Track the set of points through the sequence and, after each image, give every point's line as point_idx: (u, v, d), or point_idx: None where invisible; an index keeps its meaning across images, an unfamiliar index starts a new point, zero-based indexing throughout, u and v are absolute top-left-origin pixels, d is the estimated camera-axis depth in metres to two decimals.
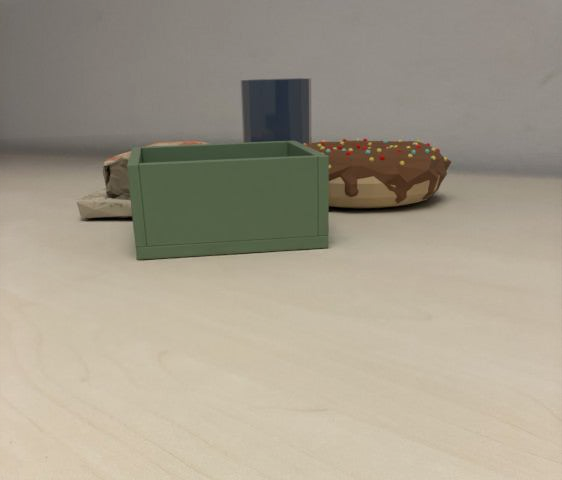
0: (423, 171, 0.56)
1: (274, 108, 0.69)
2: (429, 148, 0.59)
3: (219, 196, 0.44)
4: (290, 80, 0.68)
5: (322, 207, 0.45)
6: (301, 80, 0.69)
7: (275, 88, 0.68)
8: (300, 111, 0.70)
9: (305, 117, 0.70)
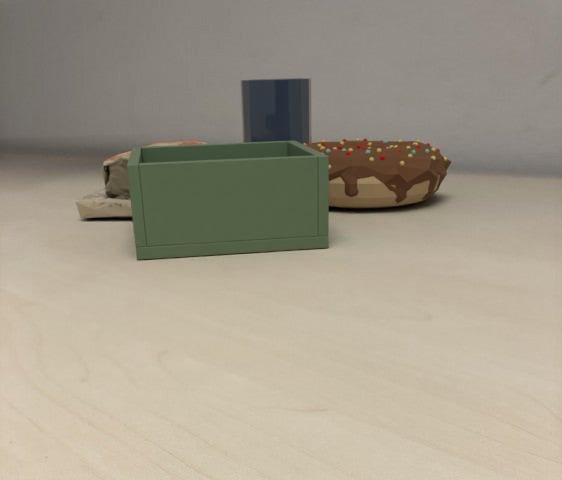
0: (423, 171, 0.56)
1: (274, 108, 0.69)
2: (429, 148, 0.59)
3: (219, 196, 0.44)
4: (290, 80, 0.68)
5: (322, 207, 0.45)
6: (301, 80, 0.69)
7: (275, 88, 0.68)
8: (300, 111, 0.70)
9: (305, 117, 0.70)
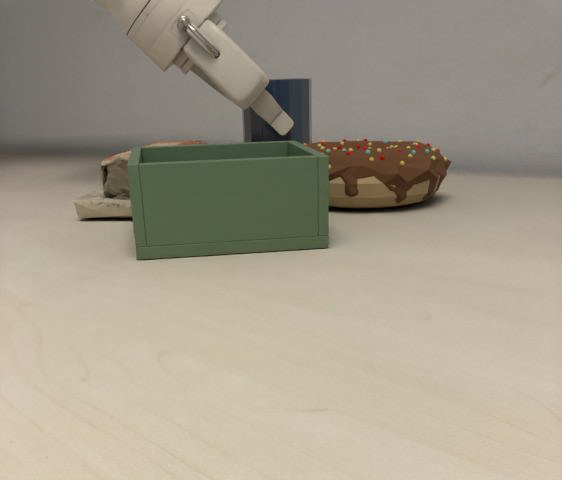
0: (423, 171, 0.56)
1: None
2: (429, 148, 0.59)
3: (219, 196, 0.44)
4: (290, 80, 0.68)
5: (322, 207, 0.45)
6: (301, 80, 0.69)
7: (275, 88, 0.68)
8: (301, 111, 0.70)
9: (305, 117, 0.70)
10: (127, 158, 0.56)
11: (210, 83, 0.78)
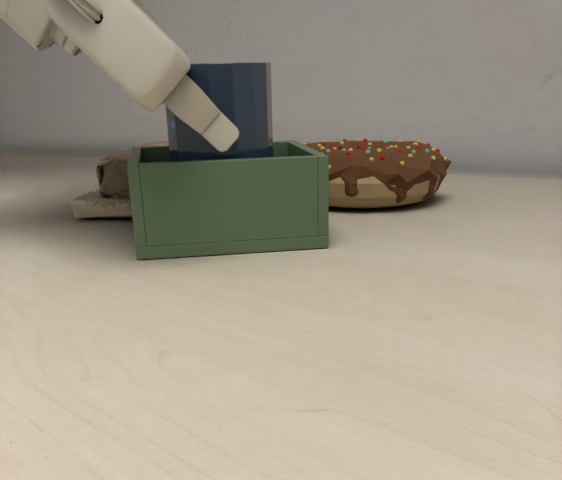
0: (423, 171, 0.56)
1: None
2: (429, 148, 0.59)
3: (219, 196, 0.44)
4: (235, 64, 0.43)
5: (322, 207, 0.45)
6: (253, 65, 0.44)
7: (211, 77, 0.43)
8: (253, 113, 0.45)
9: (261, 123, 0.45)
10: (123, 158, 0.56)
11: None
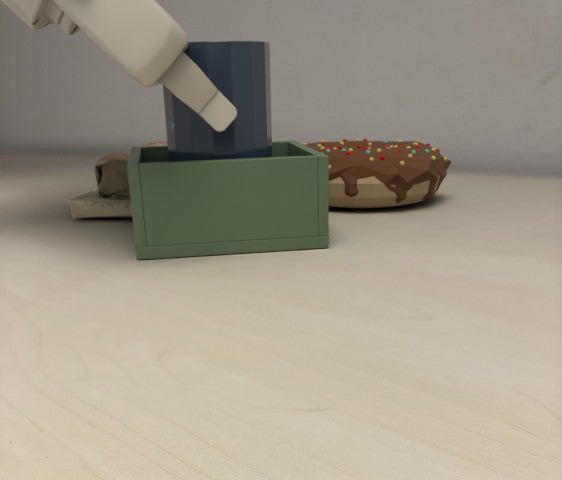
0: (423, 171, 0.56)
1: None
2: (429, 148, 0.59)
3: (219, 196, 0.44)
4: (233, 43, 0.42)
5: (322, 207, 0.45)
6: (252, 43, 0.43)
7: (209, 55, 0.42)
8: (252, 93, 0.44)
9: (260, 103, 0.45)
10: (121, 158, 0.56)
11: None
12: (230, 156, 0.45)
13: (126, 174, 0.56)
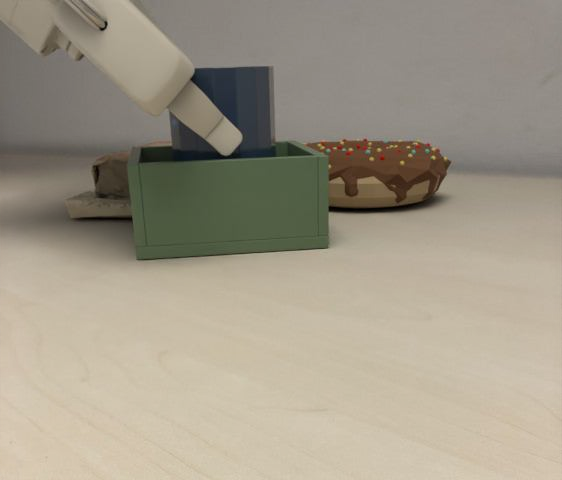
0: (423, 171, 0.56)
1: None
2: (429, 148, 0.59)
3: (219, 196, 0.44)
4: (238, 68, 0.43)
5: (322, 207, 0.45)
6: (256, 68, 0.44)
7: (215, 81, 0.43)
8: (256, 116, 0.45)
9: (264, 126, 0.46)
10: (118, 158, 0.56)
11: None
12: None
13: (123, 174, 0.56)
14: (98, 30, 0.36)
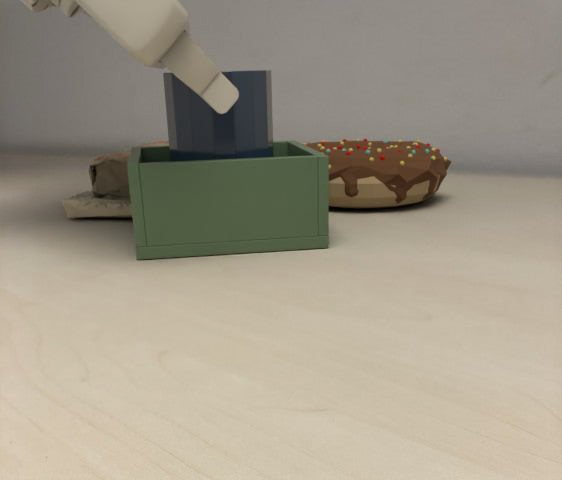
0: (423, 171, 0.56)
1: (211, 116, 0.44)
2: (429, 148, 0.59)
3: (219, 196, 0.44)
4: (235, 73, 0.43)
5: (322, 207, 0.45)
6: (253, 73, 0.44)
7: None
8: (253, 121, 0.45)
9: (261, 130, 0.46)
10: (115, 158, 0.56)
11: None
12: None
13: (120, 174, 0.56)
14: None
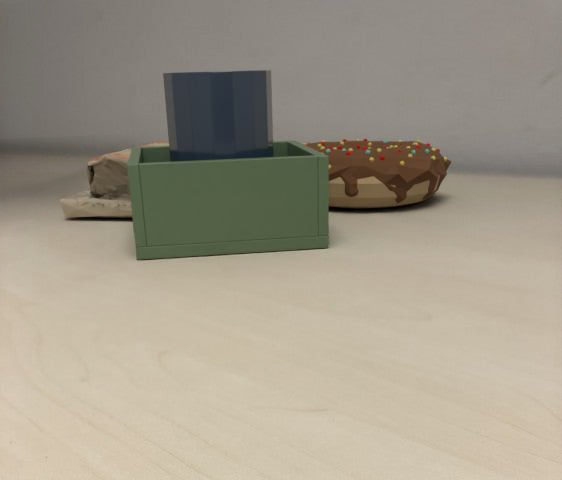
0: (423, 171, 0.56)
1: (211, 116, 0.44)
2: (429, 148, 0.59)
3: (219, 196, 0.44)
4: (235, 73, 0.43)
5: (322, 207, 0.45)
6: (253, 73, 0.44)
7: (211, 85, 0.43)
8: (253, 121, 0.45)
9: (261, 130, 0.46)
10: (113, 158, 0.56)
11: None
12: None
13: (118, 174, 0.56)
14: None
